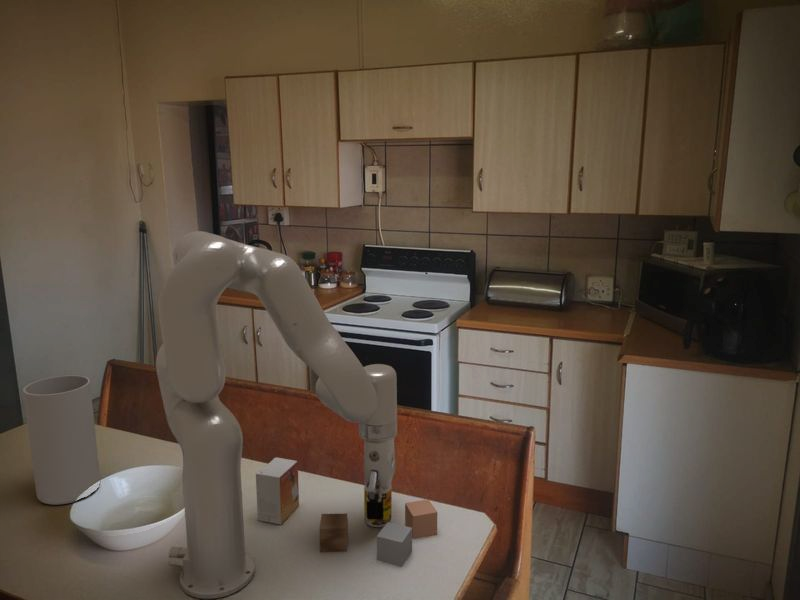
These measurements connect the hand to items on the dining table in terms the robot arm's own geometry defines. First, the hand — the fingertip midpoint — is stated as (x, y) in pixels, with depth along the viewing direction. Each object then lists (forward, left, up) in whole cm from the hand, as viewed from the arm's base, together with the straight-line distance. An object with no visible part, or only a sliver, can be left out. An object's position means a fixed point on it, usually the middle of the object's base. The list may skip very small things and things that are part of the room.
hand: (379, 505), depth 124 cm
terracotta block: (+9, -2, -4) cm, 10 cm away
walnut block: (-7, -9, -4) cm, 12 cm away
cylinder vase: (-70, +2, -4) cm, 70 cm away
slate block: (+5, -11, -4) cm, 13 cm away
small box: (-21, 0, -4) cm, 22 cm away
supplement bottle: (0, 0, -4) cm, 4 cm away
